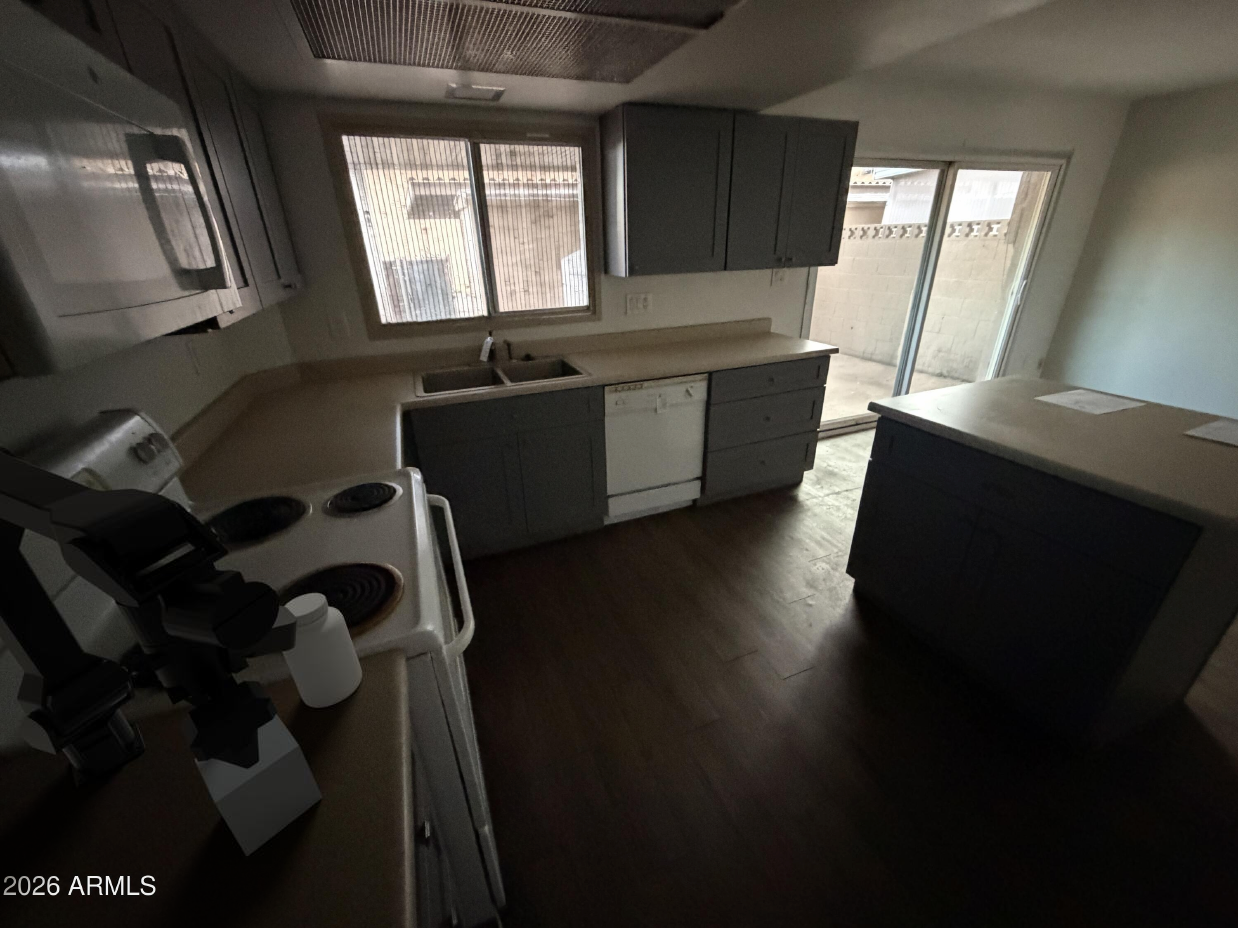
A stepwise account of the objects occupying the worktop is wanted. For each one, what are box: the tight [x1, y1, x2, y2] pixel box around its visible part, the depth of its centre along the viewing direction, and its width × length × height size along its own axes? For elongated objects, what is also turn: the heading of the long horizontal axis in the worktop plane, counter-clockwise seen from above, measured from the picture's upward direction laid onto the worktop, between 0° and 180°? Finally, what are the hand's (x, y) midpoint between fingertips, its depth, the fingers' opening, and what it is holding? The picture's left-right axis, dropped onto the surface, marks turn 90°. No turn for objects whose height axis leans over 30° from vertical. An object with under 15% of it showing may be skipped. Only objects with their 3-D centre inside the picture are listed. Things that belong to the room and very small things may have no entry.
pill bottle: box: [281, 592, 363, 709], centre depth 70 cm, size 8×8×15 cm
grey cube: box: [193, 714, 324, 857], centre depth 56 cm, size 8×8×9 cm
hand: (238, 739), depth 53 cm, fingers open, 9 cm apart
